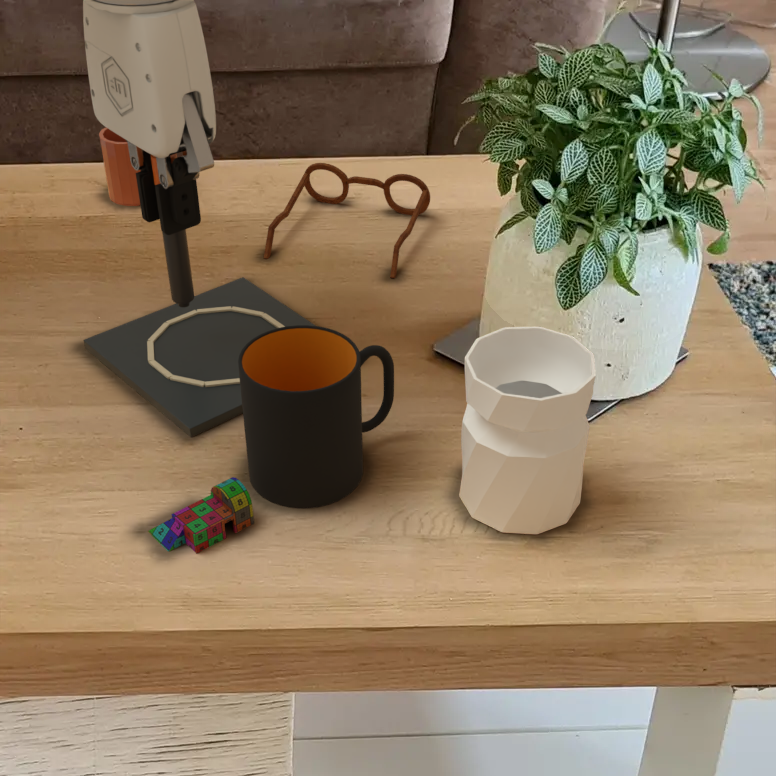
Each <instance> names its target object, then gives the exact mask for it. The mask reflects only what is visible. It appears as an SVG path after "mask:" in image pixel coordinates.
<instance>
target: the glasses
mask: <svg viewBox="0 0 776 776" xmlns="http://www.w3.org/2000/svg"><path fill="white" fill-rule="evenodd" d="M318 170H320V171H321V170H324V171H327V172H331V173H333V174H334V175H335V176H336V177H338V179H340V181H341V183H342V184H341V185H342V193H341V194H339V196H335V197H330V196H325V195H322V194H320V193H319V192H317V191H316V190H315V189H314V188H313V186H312V184H311V183H312V182H311V174H312V173H313V172H315V171H318ZM396 182H409V183H412V184H414V185H416V186H417V187H418V188H419V189H420V190H421V193H420V196H419V199H418V200H417V203H416V205H415V208H407V207H403V206H402V205H399V204H398V203H396V202H395V200H394V199H393V197H392V194H391V186H392V185H393V184H395V183H396ZM351 184H358V185H366V186H373V187H378V188H380V189H382V190H383V194H384V198H385V201H386V203H387V205H388V206H389V207H390V209H392V210H393V211H395V212H396V213H398V214H401V215H407V216H411V217H410V220H409V222H408V224H407V226H406V228H405V229H404V230H403V232H402V233H401V234H400V235H399V237H398V238H397V240H396V242H395V244H394V245H393V252H392V260H391V269H390V275H389V277H390V279H396V277H397V272H398V264H399V256H400V249H401V247H402V245H403V244H404V242H405V241H406V239H408V237H410V235H411V233H412V231H413V229H414V228H415V227H414V226H415V224H416V222H417V221H418V217H419V215H421V214H424V213H425V212H426V211H427V210H428V208H429V206H430V203H431V192H430V189H429V188H428V186H427V184H426V183H425V182H424V181H423V180H422V179H420V178H419V177H418V176H415V175H412V174H407V173H396V174H393V175H392V176H391V175H390V176H389V177H388V178H387V179H385V181H384V182H383V181H382V180H380V179H377V178H371V177H365V176H357V175H356V176H350V177H348V175H347V174H346V172H344V171H343V170H342V169H340V168H339V167H337V166H335V165H333V164H330V163H325V162H315V163H312V164H310V165H308V167H307V168H306V169H305V171H304V173H303V175H302V177H301V179H300V180H299V181H298V184H297V185H296V187H295V190H294V192H293V193H292V194H291V196H290V199H289V200H288V202H287V204H286V206H285V208H284V210H283V211H281V212H280V213H279V214H277V215H276V216H275V218H274V219H273V220H272V221H271V223H270V224H269V225H268V228H267V234H266V241H265V247H264V252H263V259H266V260H268V259H269V258H271V254H272V248H273V242H274V236H275V230H276V228H277V227H278V226H279V225H280V224H281V222H282V221H283V220H285V219H286V218H288V217H289V215H290V213H291V212H292V210H293V208H294V206H295V204H296V202H297V201H298V199H299V197H300V195H301V193H302V192H303V189H304V188H305V190H306V192H307V193H308V194H309V195H310V196H311V197H312V198H313V199H314V200H316V201H317V202H320V203H323V204H331V205H337V204H341V203H343V202H344V201H345V200H346V199H347V197H348V194H349V189H350V185H351Z"/></svg>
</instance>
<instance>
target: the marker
mask: <svg viewBox="0 0 776 776" xmlns="http://www.w3.org/2000/svg"><path fill="white" fill-rule="evenodd" d="M170 157H171V164H172V162H173V161H174V159H175V158H178V153H177V154H173V155H170ZM151 162H152V169H153V176H154V183H155V185H157V184H160V181H159V175H158V168H157V161H156V157H155V156H153V155H151ZM161 234H162V241H163V248H164V254H165V255H164V256H165V262H166V263H165V264H166V268H167V276H168V283H169V289H170V297H171V301H172V302H173V303H174V304H176V303H178V305H179V307H188V306H189V304H190V303H189V302H191V301H192V300H193V299H194V296H195V291H194V282H193V276H192V275H193V273H192V268H191V267H192V266H191V260H190V252H189V251H190V250H189V245H188V243H189V242H188V236H187V229H185V230H182V231H180V232H177V233H174V234H171V235H166V234H165V233H163V232H162V231H161Z"/></svg>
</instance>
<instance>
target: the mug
mask: <svg viewBox="0 0 776 776" xmlns="http://www.w3.org/2000/svg"><path fill="white" fill-rule="evenodd" d="M371 357H377V358H378V359H379V360H380V361H381V364H382V370H383V372H382V373H383V374H382V375H383V397H382V400H381V401H382V402H381V405H380V407H379V409H378V411H377V412H376V414H375V415H374V416H373V417H372V418H370V419H368V420H367V421H363V414H362V413H363V412H362V411H363V409H362V405H363V404H362V372H361V371H362V366H363V365H364V364H365V363H366V361H368V359H370V358H371ZM238 367H239V378H240V388H241V398H242V408H243V413H242V416H243V426H244V436H245V437H244V438H245V446H246V447H245V448H246V458H247V467H248V474H249V475H248V476H249V482H250V484H251V486H252V489H254V491H255V493H257V494H258V495H259V496H260V497H261V498H262V499H264V500H266V501H267V502H269V503H272V504H275V505H278V506H280V507H284V508H285V507H286V508H290V509H314V508H321V507H325V506H329V505H331V504H334V503H337V502H339V501H342V500H343V499H345V498H346V497H347V496H349V495H351V494H352V493H353V492H354V491H355V490H356V488H357V487H358V486H359V485H360V483H361V481H362V478H363V474H364V457H363V456H364V455H363V448H364V447H363V433H368V432H371V431H372V430H373V431H374V429H376V428H377V427H379V426H380V425H381V424H382V423H383V422H384V421H385V420H386V418H387V417H388V415H389V413H390V412H391V409H392V407H393V402H394V398H395V365H394V359H393V357H392V355H391V353H390V352H389V350H388V349H386V347H384V346H382V345H377V344H373V345H368V346H366V347H364V348H362V349H361V350H359V348H358V346H357V345H356V343H355V342H354V341H353V340H352V339H351V338H349V337H348V336H346V335H345V334H343V333H342V332H339V331H337V330H334V329H331V328H328V327H324V326H320V325H319V326H318V325H315V326H310V325H295V326H286V327H281V328H276V329H273V330H270V331H267V332H265V333H262V334H260V335H258V336H257V337H255V338H253V339H252V340H251V341H249V342H248V343H247V344H246V345H245V346H244V348H243V349H242V350H241V353H240V355H239V359H238Z"/></svg>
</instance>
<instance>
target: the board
mask: <svg viewBox="0 0 776 776" xmlns="http://www.w3.org/2000/svg"><path fill="white" fill-rule="evenodd" d="M189 303H190V304H189V306H188V307H179V305H178V303H174V304H171V305H168V306H166V307H163V308H161V309H158V310H156V311H153V312H151V313H149V314H146V315H143V316H141V317H138V318H135V319H133V320H131V321H128V322H125V323H122V324H120V325H118V326H114V327H112V328H110V329H107V330H105V331H103V332H100V333H98V334H95V335H92V336H90V337H87V338H85V339H83V340H82V341H83V345H84V350H86V351H87V352H89V353H90V354H91V355H92V356H93V357H94V358H96V359H97V360H98V361H99V362H100V363H102V364H103V365H104V366H105V367H106V368H107V369H108V370H110V371H111V372H112V373H113V374H115V376H117V377H118V378H119V379H121V380H122V381H123V382H124V383H125V384H126V385H128V386H129V387H130V388H132V390H134V391H135V392H136V393H137V394H138V395H140V396H141V397H142V398H143V399H144V400H145V401H146V402H148V403H149V404H151V405H152V407H154V408H155V409H156V410H157V411H159V413H161V414H162V415H163V416H165V417H166V418H167V419H168V420H170V421H171V422H172V423H173V424H174V425H175V426H176V427H178V428H179V429H180V430H182V432H184V433H185V434H186V435H187V436H188V437H190V438H193V437H196V436H197V435H200V434H202V433H204V432H206V431H209V430H210V429H213V428H214V427H217V426H219V425H221V424H222V423H225V422H227V421H230V420H231V419H234V418H236V417H238V416H240V415H243V408H242V398H241V388H240V378H239V367H238V359H239V355H240V353H241V350H242V349H243V348H244V346H245V345H246V344H247V343H248V342H249V341H251V340H252V339H253V338H255V337H257V336H258V335H260V334H262V333H265V332H267V331H270V330H273V329H276V328H281V327H286V326H295V325H310V326H316V324H314V323H313V322H311V321H309V320H308V319H307V318H305V317H303V316H302V315H300V314H299V313H298V312H297V311H295V310H294V309H291V308H290V307H289V306H287V305H286V304H284V303H283V302H281V301H280V300H278V299H277V298H275V297H274V296H272V295H271V294H269V293H267V292H266V291H265V290H263V289H262V288H260V287H258V286H257V285H256V284H254V283H253V282H251V281H250V280H248V279H246V278H245V277H244V276H242V277H240V278H237V279H234V280H232V281H230V282H227V283H225V284H222V285H220V286H219V285H218V286H217V287H214V288H211V289H209V290H207V291H204V292H201V293H198V294H196V295H194V299H193V300H192V301H191V302H189Z"/></svg>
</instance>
